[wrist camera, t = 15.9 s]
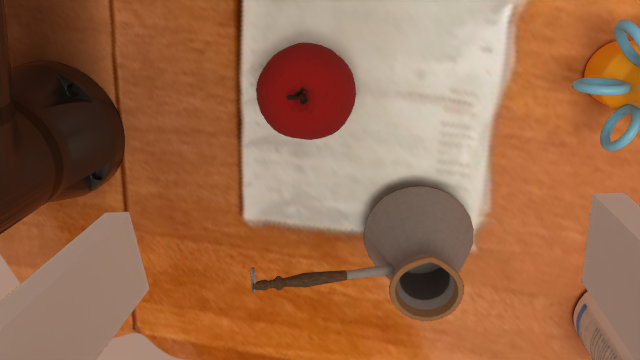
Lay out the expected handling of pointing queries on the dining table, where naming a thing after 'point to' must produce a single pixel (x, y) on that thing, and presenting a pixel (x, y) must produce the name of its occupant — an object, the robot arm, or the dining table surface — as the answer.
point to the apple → (306, 91)
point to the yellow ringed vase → (616, 82)
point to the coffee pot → (408, 253)
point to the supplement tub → (598, 332)
